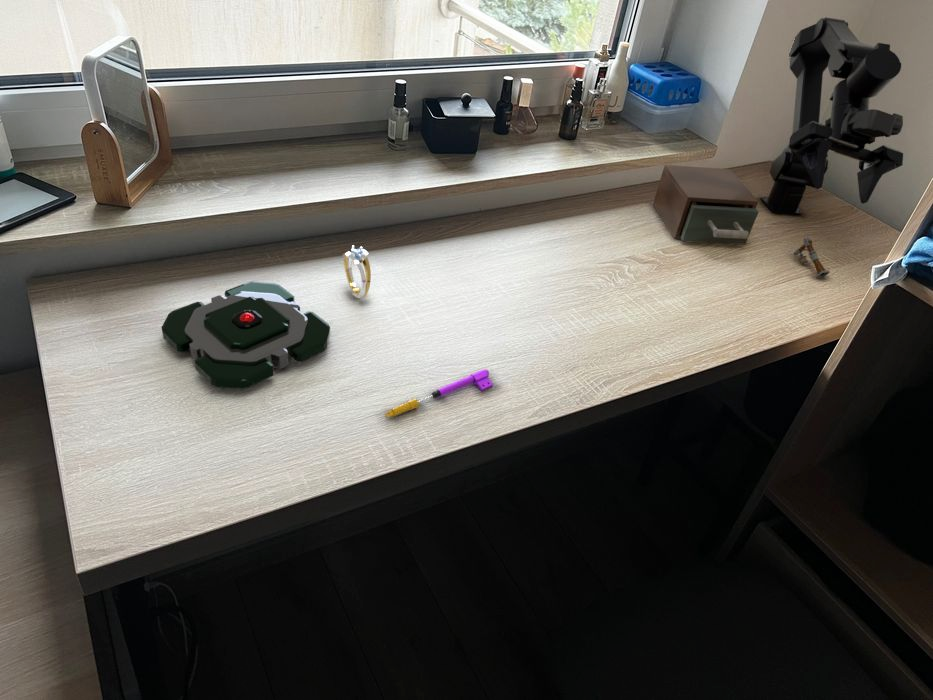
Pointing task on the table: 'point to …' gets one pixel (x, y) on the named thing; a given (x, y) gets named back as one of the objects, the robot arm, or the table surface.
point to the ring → (358, 258)
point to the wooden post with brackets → (814, 258)
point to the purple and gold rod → (447, 391)
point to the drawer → (718, 222)
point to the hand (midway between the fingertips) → (841, 195)
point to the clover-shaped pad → (246, 334)
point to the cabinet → (696, 192)
